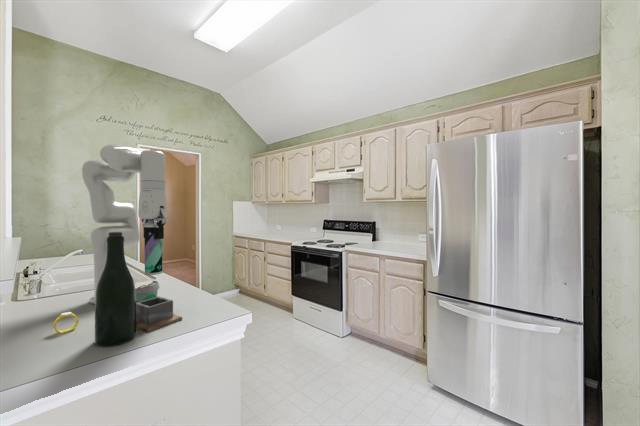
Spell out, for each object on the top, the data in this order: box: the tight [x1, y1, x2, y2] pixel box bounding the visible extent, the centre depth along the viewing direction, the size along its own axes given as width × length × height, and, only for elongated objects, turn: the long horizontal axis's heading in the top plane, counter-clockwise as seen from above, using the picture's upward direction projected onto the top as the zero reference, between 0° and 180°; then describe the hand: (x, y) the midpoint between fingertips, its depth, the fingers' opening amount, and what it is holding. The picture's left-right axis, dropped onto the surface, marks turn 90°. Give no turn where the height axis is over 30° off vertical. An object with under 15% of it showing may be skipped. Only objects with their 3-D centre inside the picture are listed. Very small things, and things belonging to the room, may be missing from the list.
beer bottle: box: [94, 232, 138, 347], centre depth 87 cm, size 10×10×33 cm
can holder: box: [136, 296, 183, 333], centre depth 100 cm, size 14×12×7 cm
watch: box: [52, 311, 79, 334], centre depth 92 cm, size 6×3×6 cm, turn 141°
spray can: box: [143, 219, 164, 276], centre depth 100 cm, size 6×6×20 cm
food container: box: [135, 280, 160, 303], centre depth 111 cm, size 12×6×10 cm, turn 168°
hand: (153, 237), depth 100 cm, fingers closed on spray can, 5 cm apart
